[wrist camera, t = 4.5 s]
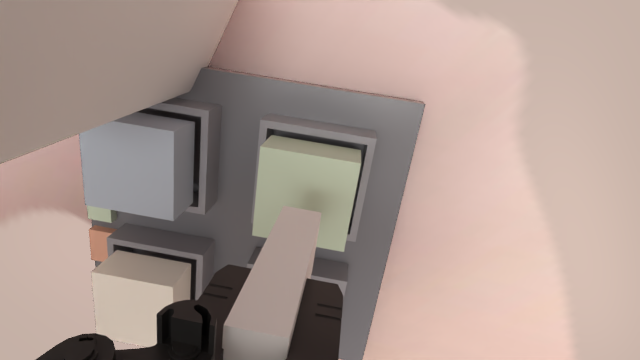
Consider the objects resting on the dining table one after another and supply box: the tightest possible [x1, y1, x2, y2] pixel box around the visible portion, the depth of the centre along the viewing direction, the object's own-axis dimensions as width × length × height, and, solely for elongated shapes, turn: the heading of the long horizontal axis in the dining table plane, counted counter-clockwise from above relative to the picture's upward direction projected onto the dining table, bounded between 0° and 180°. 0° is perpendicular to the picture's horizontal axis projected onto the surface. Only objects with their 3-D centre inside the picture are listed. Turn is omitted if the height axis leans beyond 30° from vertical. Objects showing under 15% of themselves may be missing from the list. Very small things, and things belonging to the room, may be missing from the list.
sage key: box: [252, 135, 361, 252], centre depth 19 cm, size 5×5×2 cm
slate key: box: [79, 112, 195, 221], centre depth 20 cm, size 5×5×2 cm
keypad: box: [87, 67, 425, 360], centre depth 24 cm, size 20×19×3 cm
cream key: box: [91, 250, 191, 347], centre depth 23 cm, size 5×5×2 cm
